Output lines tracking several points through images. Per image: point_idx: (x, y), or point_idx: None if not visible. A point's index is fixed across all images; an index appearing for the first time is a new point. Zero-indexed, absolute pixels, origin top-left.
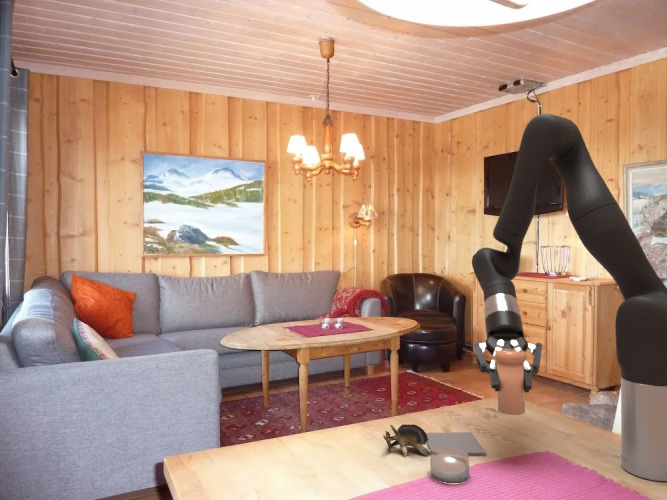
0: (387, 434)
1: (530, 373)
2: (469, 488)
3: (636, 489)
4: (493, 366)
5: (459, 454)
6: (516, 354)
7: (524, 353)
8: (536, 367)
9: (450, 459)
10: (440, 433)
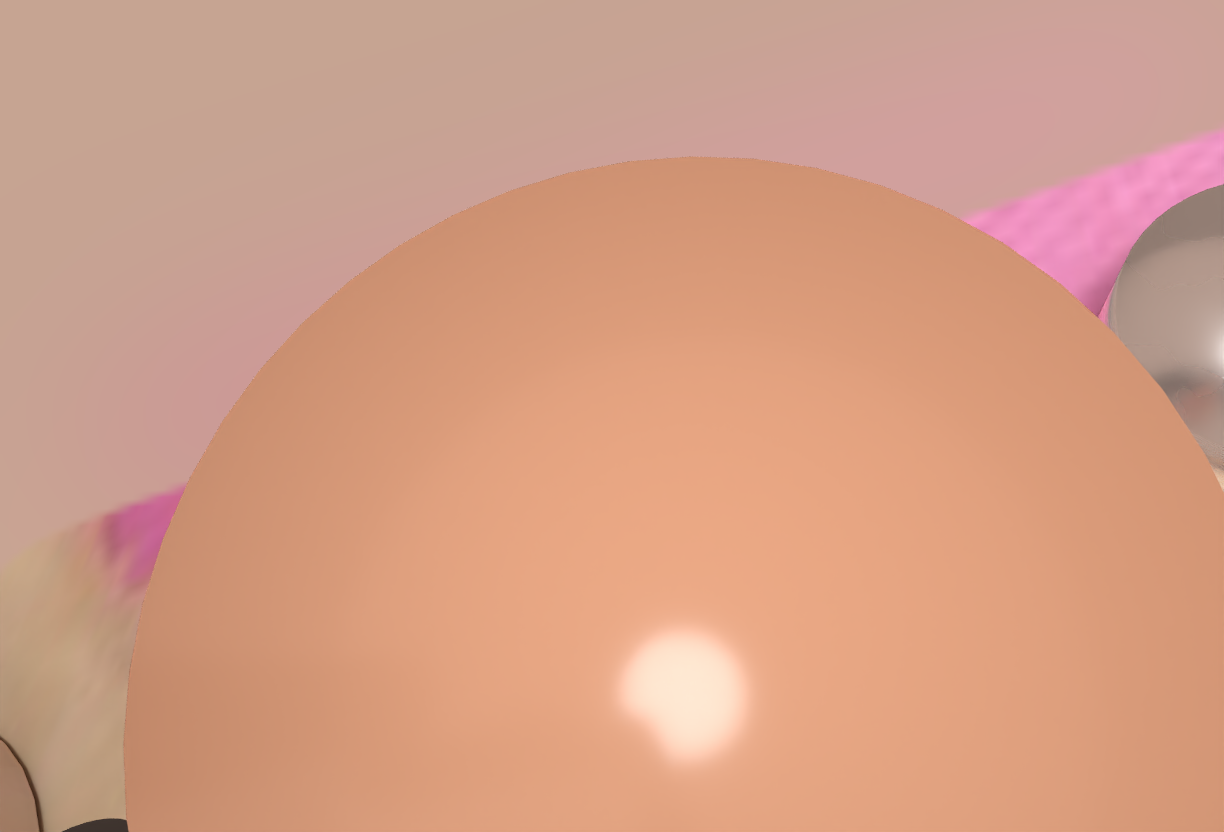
0: None
1: None
2: (1052, 260)
3: (95, 571)
4: None
5: (1208, 352)
6: (465, 215)
7: (197, 510)
8: (117, 826)
9: None
10: None
